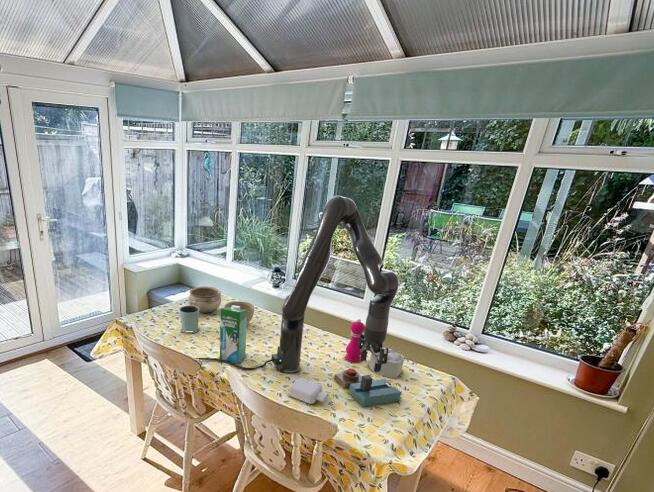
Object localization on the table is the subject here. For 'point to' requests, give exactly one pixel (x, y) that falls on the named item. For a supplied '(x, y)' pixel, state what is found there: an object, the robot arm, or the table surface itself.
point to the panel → (347, 379)
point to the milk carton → (233, 333)
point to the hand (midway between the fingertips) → (369, 366)
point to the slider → (366, 383)
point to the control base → (375, 393)
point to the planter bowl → (245, 306)
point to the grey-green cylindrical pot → (189, 318)
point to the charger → (308, 391)
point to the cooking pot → (205, 298)
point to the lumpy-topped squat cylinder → (389, 364)
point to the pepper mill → (355, 342)
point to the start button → (351, 372)
